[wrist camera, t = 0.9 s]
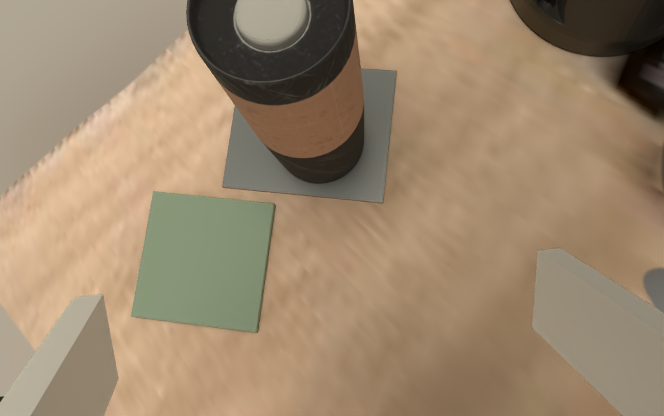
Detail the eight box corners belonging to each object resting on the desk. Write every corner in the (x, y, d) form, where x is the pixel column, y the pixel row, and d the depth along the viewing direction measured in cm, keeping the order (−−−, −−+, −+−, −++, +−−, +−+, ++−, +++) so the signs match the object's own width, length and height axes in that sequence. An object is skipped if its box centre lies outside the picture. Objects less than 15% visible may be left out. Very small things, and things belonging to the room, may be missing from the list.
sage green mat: (275, 204, 42) (273, 203, 42) (257, 332, 41) (255, 332, 40) (156, 192, 44) (153, 191, 43) (134, 316, 42) (131, 316, 41)
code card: (396, 72, 43) (396, 70, 43) (382, 203, 42) (382, 202, 41) (242, 61, 45) (241, 59, 45) (222, 187, 43) (222, 186, 43)
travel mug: (347, 201, 42) (316, 110, 22) (259, 169, 43) (155, 55, 23) (381, 113, 43) (380, -48, 23) (294, 84, 44) (222, -93, 24)
